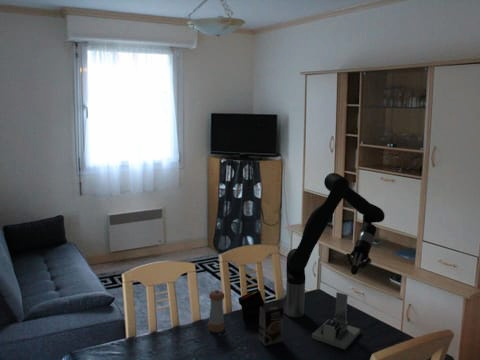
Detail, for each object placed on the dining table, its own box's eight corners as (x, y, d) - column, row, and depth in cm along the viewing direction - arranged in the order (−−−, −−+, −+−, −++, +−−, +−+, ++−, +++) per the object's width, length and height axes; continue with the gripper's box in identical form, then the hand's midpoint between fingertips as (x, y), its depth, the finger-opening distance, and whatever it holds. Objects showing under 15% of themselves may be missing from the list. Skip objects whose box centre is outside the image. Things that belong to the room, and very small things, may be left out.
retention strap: (334, 318, 222) (335, 292, 220) (335, 317, 223) (336, 291, 221) (345, 321, 219) (347, 296, 217) (346, 320, 220) (348, 295, 218)
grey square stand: (311, 338, 216) (312, 320, 215) (328, 323, 231) (329, 306, 229) (344, 349, 207) (346, 331, 206) (360, 333, 222) (361, 316, 220)
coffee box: (265, 346, 209) (266, 312, 206) (258, 339, 214) (259, 306, 211) (282, 341, 213) (284, 308, 210) (275, 335, 218) (276, 302, 215)
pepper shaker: (212, 333, 218) (213, 294, 215) (206, 327, 224) (206, 288, 221) (226, 330, 222) (227, 291, 218) (219, 323, 228) (220, 286, 224)
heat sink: (320, 333, 217) (321, 325, 216) (328, 326, 223) (328, 318, 222) (341, 340, 211) (341, 332, 210) (348, 333, 217) (348, 325, 217)
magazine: (272, 317, 232) (259, 291, 229) (247, 328, 232) (234, 303, 229) (270, 313, 236) (258, 288, 233) (246, 325, 236) (234, 299, 232)
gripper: (349, 236, 237) (338, 267, 229) (375, 241, 230) (365, 273, 222) (353, 244, 242) (342, 274, 234) (378, 249, 235) (368, 280, 227)
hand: (353, 273), depth 228 cm, fingers closed
